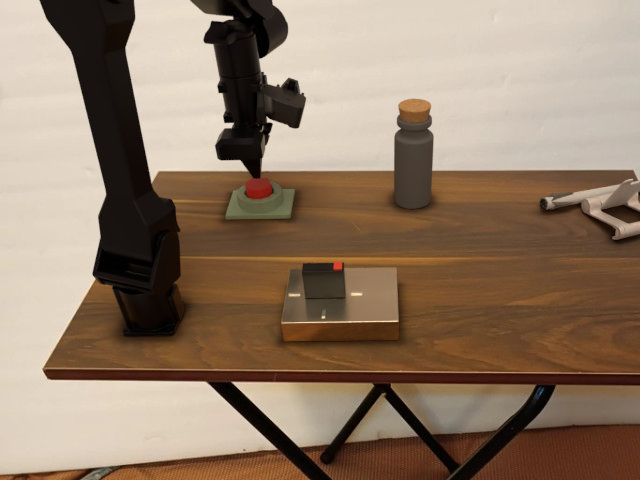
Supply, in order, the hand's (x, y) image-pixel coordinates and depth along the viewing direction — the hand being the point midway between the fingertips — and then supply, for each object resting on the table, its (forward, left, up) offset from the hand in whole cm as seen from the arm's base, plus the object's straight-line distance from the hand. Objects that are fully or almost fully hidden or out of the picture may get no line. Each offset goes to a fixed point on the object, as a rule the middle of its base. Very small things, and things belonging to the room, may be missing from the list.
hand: (257, 177), depth 97 cm
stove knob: (+12, -27, -2) cm, 30 cm away
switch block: (0, 0, -5) cm, 5 cm away
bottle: (+24, +1, -5) cm, 25 cm away
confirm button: (0, 0, -3) cm, 3 cm away
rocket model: (+43, -3, -3) cm, 43 cm away
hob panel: (+14, -27, -5) cm, 31 cm away
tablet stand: (+56, -9, 0) cm, 57 cm away
